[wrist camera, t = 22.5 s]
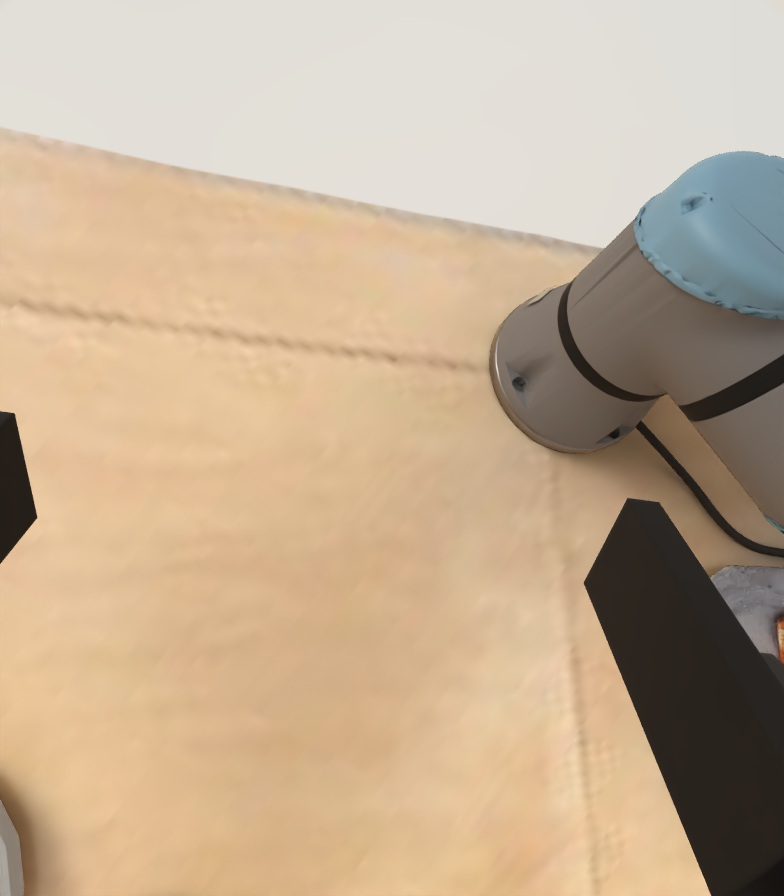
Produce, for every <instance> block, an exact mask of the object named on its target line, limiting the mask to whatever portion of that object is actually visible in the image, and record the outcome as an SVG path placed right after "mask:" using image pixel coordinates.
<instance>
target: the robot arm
mask: <svg viewBox="0 0 784 896" xmlns="http://www.w3.org/2000/svg"><path fill="white" fill-rule="evenodd" d="M554 287H555V286H553V287H551V288H548V289H546V290H544V291H543V292H542V293H540V294H539V295H537V296H534V297H532V298H530V299H529V300H527V301H526V302H524V303H523V304H521V305H520V306H518V307H517V308H516V309H515V310H514V311H513V312H512V313H511V314H510V315H509V316H508V317H507V318H506V319H505V320H504V322H503V323H502V324H501V325H500V327H499V329H498V330H497V332H496V334H495V337H494V339H493V342H492V346H491V351H490V374H491V379H492V383H493V387H494V390H495V392H496V395H497V397H498V399H499V401H500V403H501V405H502V407H503V409H504V410H505V412H506V413H507V415H508V416H509V417H510V419H511V420H512V421H513V422H514V423H515V424H516V425H517V426H518V427H519V428H520V429H521V430H522V431H523V432H524V433H525V434H527V435H528V436H529V437H530V438H532V439H533V440H535V441H537V442H538V443H540V444H542V445H544V446H546V447H548V448H551V449H554V450H557V451H561V452H565V453H573V454H582V453H590V452H594V451H597V450H600V449H603V448H605V447H607V446H609V445H612V444H614V443H616V442H617V441H619V440H620V439H622V438H623V437H624V436H626V435H627V434H628V433H630V432H631V431H632V430H633V429H634V428H635V427H636V428H637V429H638V430H639V431H640V433H641V434H642V435H643V436H644V437H645V438H646V439H647V440H648V441H649V442H650V443H651V445H652V446H653V447H654V448H655V449H656V450H657V451H658V452H659V453H660V455H661V456H662V457H663V458H664V459H665V460H666V461H667V462H668V464H669V465H670V466H671V467H672V468H673V469H674V470H675V471H676V473H677V474H678V475H679V476H680V477H681V478H682V479H683V481H684V482H685V483H686V484H687V485H688V486H689V488H690V489H691V490H692V491H693V493H694V494H695V495H696V497H697V498H698V499H699V501H700V502H701V504H702V505H703V506H704V508H705V509H706V510H707V512H708V513H709V514H710V515H711V517H712V518H713V519H714V520H715V521H716V523H717V524H718V525H719V526H720V527H721V528H722V529H723V530H724V531H725V532H726V533H727V534H728V535H730V536H731V537H732V538H733V539H735V540H736V541H737V542H739V543H740V544H742V545H743V546H745V547H747V548H749V549H751V550H753V551H756V552H759V553H762V554H767V555H772V556H778V557H784V549H778V548H772V547H767V546H764V545H760V544H758V543H755V542H753V541H751V540H749V539H747V538H746V537H744V536H743V535H741V534H740V533H739V532H737V531H736V530H735V529H734V528H733V527H732V526H731V525H730V524H729V523H728V522H727V521H726V520H725V519H724V518H723V517H722V516H721V515H720V513H719V512H718V511H717V510H716V508H715V507H714V506H713V504H712V503H711V502H710V500H709V499H708V497H707V496H706V495H705V493H704V492H703V491H702V489H701V488H700V487H699V486H698V484H697V483H696V482H695V481H694V480H693V478H692V477H691V476H690V475H689V474H688V473H687V471H686V470H685V469H684V468H683V467H682V466H681V465H680V463H679V462H678V461H677V460H676V459H675V458H674V457H673V455H672V454H671V453H670V452H669V451H668V450H667V449H666V448H665V446H664V445H663V444H662V443H661V442H660V441H659V440H658V439H657V438H656V437H655V435H654V434H653V433H652V432H651V431H650V430H649V429H648V428H647V427H646V426H645V425H644V423H643V422H642V421H641V419H642V418H643V417H644V416H645V415H646V413H647V412H648V411H649V410H650V409H651V407H652V406H653V405H654V404H655V403H656V401H657V400H658V399H659V398H660V397H661V396H663V395H665V394H668V395H669V396H670V397H671V398H672V400H673V401H674V402H675V403H676V404H677V405H678V407H679V408H680V409H681V410H682V412H683V413H684V414H685V415H686V416H687V418H688V419H689V420H690V422H691V423H692V424H693V426H694V427H695V428H696V429H697V431H698V432H699V433H700V434H701V436H702V437H703V438H704V439H705V441H706V442H707V443H708V444H709V446H710V447H711V448H712V449H713V451H714V452H715V453H716V455H717V456H718V457H719V458H720V460H721V461H722V462H723V463H724V465H725V466H726V467H727V468H728V470H729V471H730V472H731V473H732V475H733V476H734V477H735V479H736V480H737V481H738V482H739V484H740V485H741V486H742V487H743V489H744V490H745V491H746V492H747V494H748V495H749V496H750V497H751V499H752V500H753V501H754V503H755V504H756V505H757V506H758V508H759V510H760V511H761V512H762V513H763V515H764V517H765V518H766V519H767V521H769V522H770V523H771V524H772V525H773V526H774V527H776V528H777V529H778V530H780V531H781V532H782V533H783V534H784V158H781V157H778V156H768V155H764V154H761V153H758V152H750V151H737V152H728V153H723V154H718V155H715V156H712V157H709V158H707V159H704V160H702V161H700V162H699V163H697V164H695V165H694V166H692V167H691V168H689V169H688V170H687V171H686V172H684V173H683V174H682V175H681V176H680V177H679V178H678V179H677V180H676V181H674V182H673V183H672V184H671V185H670V186H669V187H668V188H667V189H665V190H664V191H663V192H662V193H660V194H658V195H656V196H654V197H653V198H651V199H650V200H649V201H648V202H647V203H646V204H645V205H644V206H643V207H642V208H641V209H640V212H639V214H638V215H637V216H636V218H635V219H634V220H633V221H632V222H631V223H630V224H629V225H628V226H627V227H626V228H625V229H624V230H623V231H622V232H621V233H620V234H619V235H618V236H617V237H616V238H615V239H614V240H613V241H612V242H611V243H610V244H609V245H608V246H607V247H606V248H605V249H604V250H603V251H602V252H601V253H600V254H599V255H598V256H597V257H596V258H595V259H594V260H593V261H592V262H591V263H590V264H589V265H588V266H587V267H585V268H584V269H583V270H582V271H581V272H580V274H579V275H578V276H577V277H576V278H575V279H574V280H573V281H571V282H570V283H567V284H565V285H562V286H560V287H557V288H555V289H553V288H554ZM551 289H552V290H551ZM36 519H37V514H36V509H35V505H34V500H33V495H32V491H31V486H30V482H29V477H28V473H27V468H26V463H25V459H24V454H23V450H22V445H21V441H20V436H19V431H18V427H17V422H16V418H15V413H8V412H1V411H0V564H1V562H2V561H3V560H4V559H5V557H6V556H7V555H8V554H9V552H10V551H11V550H12V549H13V547H14V546H15V545H16V544H17V542H18V541H19V540H20V539H21V537H22V536H23V535H24V534H25V532H26V531H27V530H28V529H29V527H30V526H31V525H32V524H33V522H34V521H35V520H36ZM584 585H585V587H586V590H587V592H588V595H589V597H590V600H591V602H592V604H593V607H594V609H595V612H596V614H597V617H598V619H599V622H600V624H601V626H602V629H603V631H604V634H605V636H606V639H607V641H608V644H609V646H610V649H611V651H612V653H613V656H614V658H615V661H616V663H617V666H618V668H619V671H620V673H621V675H622V678H623V680H624V683H625V685H626V688H627V690H628V693H629V695H630V698H631V700H632V702H633V705H634V707H635V710H636V712H637V715H638V717H639V720H640V722H641V724H642V727H643V729H644V732H645V734H646V737H647V739H648V742H649V744H650V747H651V749H652V751H653V754H654V756H655V759H656V761H657V764H658V766H659V769H660V771H661V773H662V776H663V778H664V781H665V783H666V786H667V788H668V791H669V793H670V796H671V798H672V800H673V803H674V805H675V808H676V810H677V813H678V815H679V818H680V820H681V822H682V825H683V827H684V830H685V832H686V835H687V837H688V840H689V842H690V845H691V847H692V849H693V852H694V854H695V857H696V859H697V862H698V864H699V867H700V869H701V871H702V874H703V876H704V879H705V881H706V884H707V886H708V889H709V891H710V894H711V896H784V664H783V663H781V662H780V661H779V660H778V659H777V658H776V657H775V656H774V655H773V654H769V653H760V652H759V651H758V649H757V648H756V646H755V645H754V643H753V642H752V640H751V639H750V637H749V636H748V634H747V633H746V631H745V630H744V628H743V627H742V625H741V624H740V622H739V621H738V619H737V618H736V616H735V615H734V613H733V612H732V610H731V609H730V607H729V606H728V604H727V603H726V601H725V600H724V598H723V597H722V595H721V594H720V592H719V591H718V590H717V588H716V587H715V585H714V584H713V582H712V581H711V579H710V578H709V576H708V575H707V573H706V572H705V570H704V569H703V567H702V566H701V564H700V563H699V561H698V560H697V558H696V557H695V555H694V554H693V552H692V551H691V549H690V548H689V546H688V545H687V543H686V542H685V540H684V539H683V537H682V536H681V534H680V533H679V531H678V530H677V528H676V527H675V525H674V524H673V522H672V521H671V519H670V518H669V516H668V515H667V513H666V512H665V510H664V509H663V507H662V506H661V504H660V503H659V502H652V501H645V500H638V499H631V498H627V500H626V502H625V504H624V506H623V508H622V510H621V512H620V514H619V516H618V518H617V520H616V522H615V523H614V525H613V527H612V529H611V531H610V533H609V535H608V537H607V539H606V541H605V543H604V545H603V547H602V549H601V551H600V552H599V554H598V556H597V558H596V560H595V562H594V564H593V566H592V568H591V570H590V572H589V574H588V576H587V578H586V579H585V581H584Z"/></svg>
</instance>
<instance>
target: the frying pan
mask: <svg viewBox="0 0 784 896" xmlns="http://www.w3.org/2000/svg"><path fill="white" fill-rule="evenodd" d="M23 894H24V879H23V869H22V860H21V850H20V840H19V836H18V834H17V832H16V830H15V828H14V826H13V824H12V822H11V820H10V818H9V816H8V814H7V812H6V810H5V808H4V806H3V804H2V802H1V800H0V896H23Z"/></svg>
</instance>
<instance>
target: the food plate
mask: <svg viewBox="0 0 784 896" xmlns="http://www.w3.org/2000/svg"><path fill="white" fill-rule="evenodd" d="M710 579H711V581H712V582H713V584H714V585H715V587H716V588H717V590H718V591H719V592H720V594H721V595H722V597H723V598H724V600H725V601H726V603H727V604H728V606H729V607H730V609H731V610H732V612H733V613H734V615H735V616H736V618H737V619H738V621H739V622H740V624H741V625H742V627H743V628H744V630H745V631H746V633H747V634H748V636H749V637H750V639H751V640H752V642H753V643H754V645H755V646H756V648H757V649H758V651H759V652H760V653H769V654H773V655H774V656H775V657H776V658H777V659H778V660H779V661H780V662H781V663H783V664H784V568H777V567H763V566H753V567H752V566H748V568H745V567H744V566H742V567H736V565H731V566H727V567H725V568H723V569H721V570H719V571H718V572H717V573H716V574H714V575H713V576H711V577H710Z"/></svg>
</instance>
